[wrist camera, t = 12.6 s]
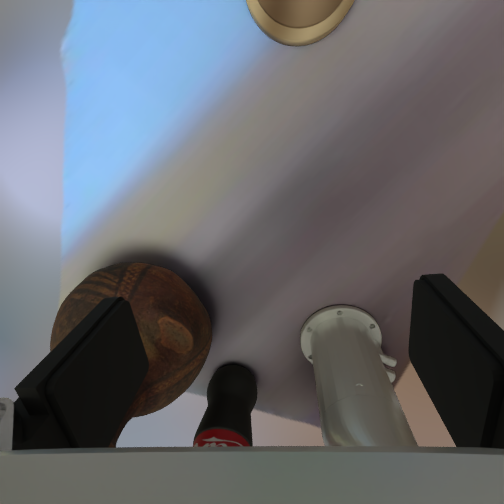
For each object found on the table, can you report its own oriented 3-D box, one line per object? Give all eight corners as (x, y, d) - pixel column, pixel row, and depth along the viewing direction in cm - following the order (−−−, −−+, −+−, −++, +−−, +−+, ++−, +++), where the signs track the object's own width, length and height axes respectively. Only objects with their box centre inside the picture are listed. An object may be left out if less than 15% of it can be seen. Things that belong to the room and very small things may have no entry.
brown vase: (210, 372, 56) (141, 620, 28) (92, 345, 55) (-93, 568, 28) (232, 265, 47) (164, 473, 19) (92, 233, 47) (-177, 396, 19)
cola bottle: (231, 351, 53) (177, 599, 26) (268, 378, 55) (255, 638, 27) (202, 378, 56) (126, 626, 29) (238, 402, 58) (199, 659, 30)
